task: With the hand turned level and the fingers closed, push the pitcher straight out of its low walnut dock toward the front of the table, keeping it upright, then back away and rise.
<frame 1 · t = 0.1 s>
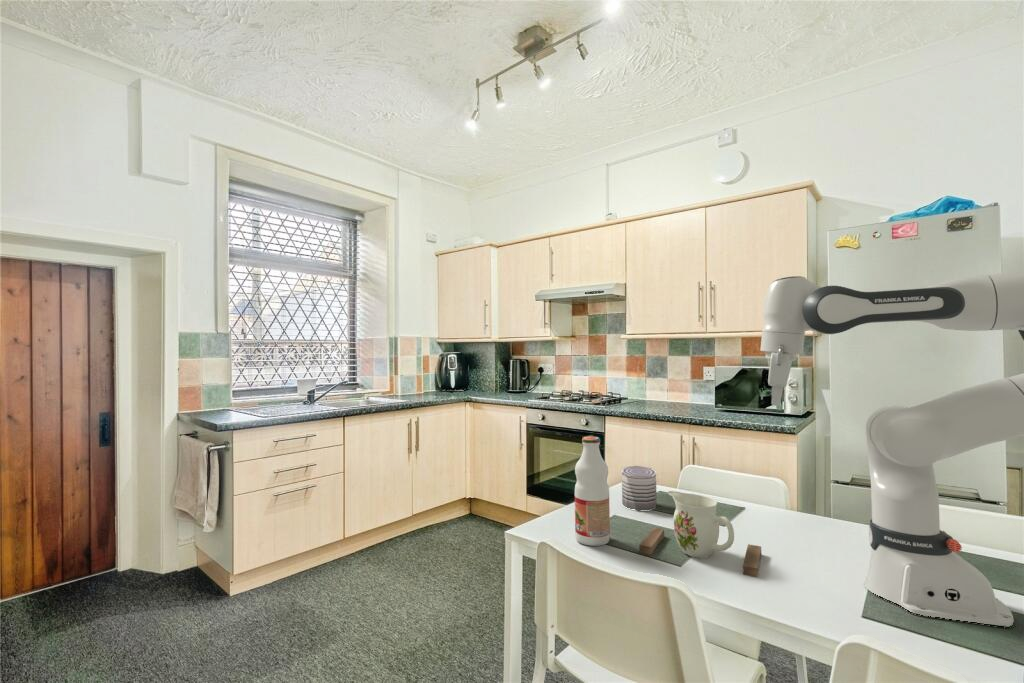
hand: (776, 403, 112), 39 cm above the table, tool pointing down, fingers open, 8 cm apart
pitcher: (699, 554, 120), on the table
fruit juice: (592, 540, 130), on the table
walnut dock: (699, 553, 120), on the table
can: (639, 506, 159), on the table
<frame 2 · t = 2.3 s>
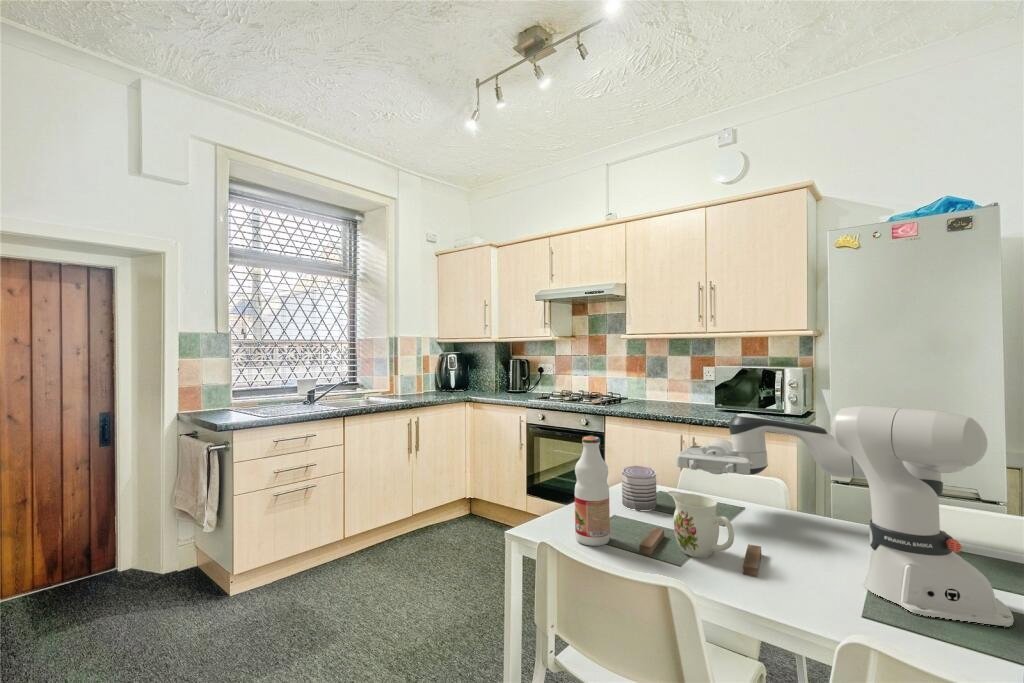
hand: (708, 468, 135), 18 cm above the table, tool horizontal, fingers open, 7 cm apart
nothing on the table moved.
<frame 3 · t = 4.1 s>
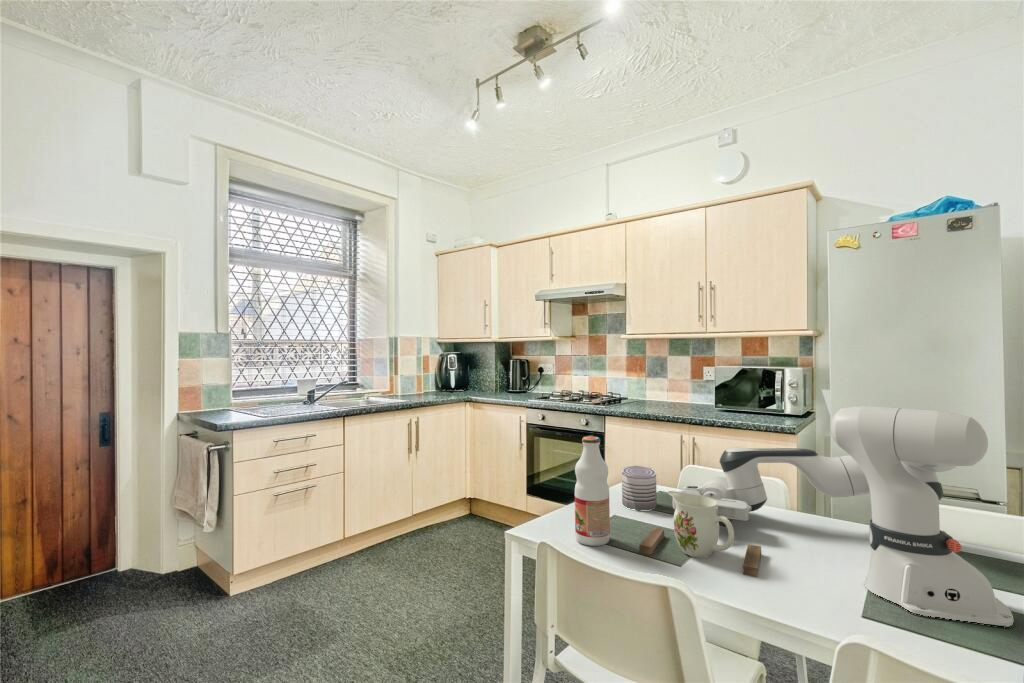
hand: (705, 514, 130), 7 cm above the table, tool horizontal, fingers closed
nothing on the table moved.
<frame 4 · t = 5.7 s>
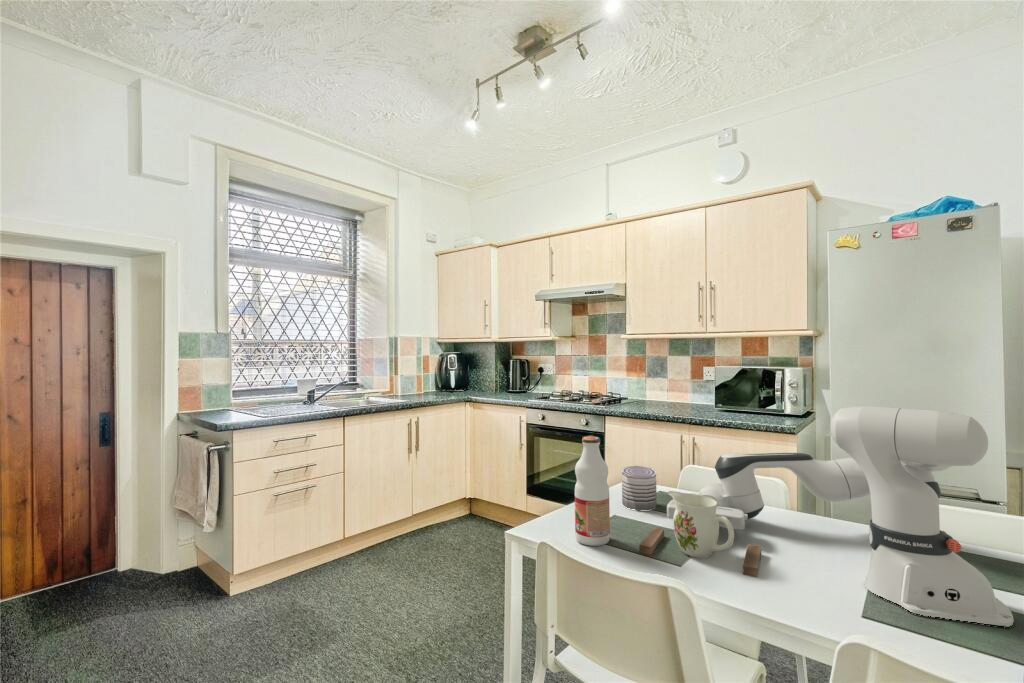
hand: (700, 523, 126), 6 cm above the table, tool horizontal, fingers closed, pressing on pitcher
pitcher: (699, 554, 120), on the table, touching gripper
everything else where it was.
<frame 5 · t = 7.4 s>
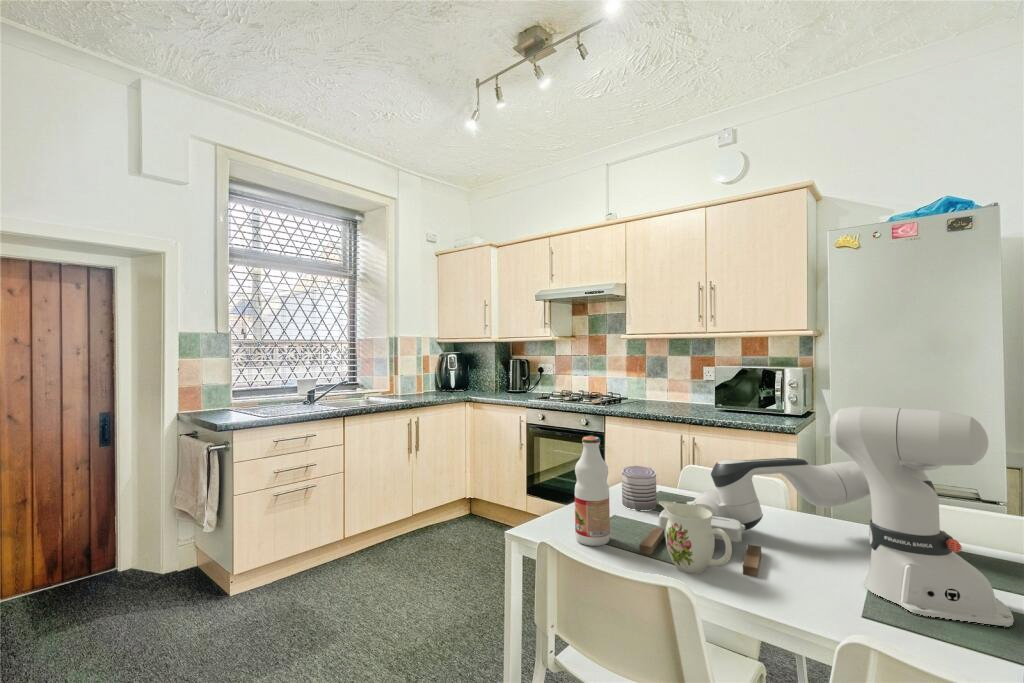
hand: (694, 535, 118), 6 cm above the table, tool horizontal, fingers closed, pressing on pitcher
pitcher: (694, 569, 112), on the table, touching gripper
everything else where it was.
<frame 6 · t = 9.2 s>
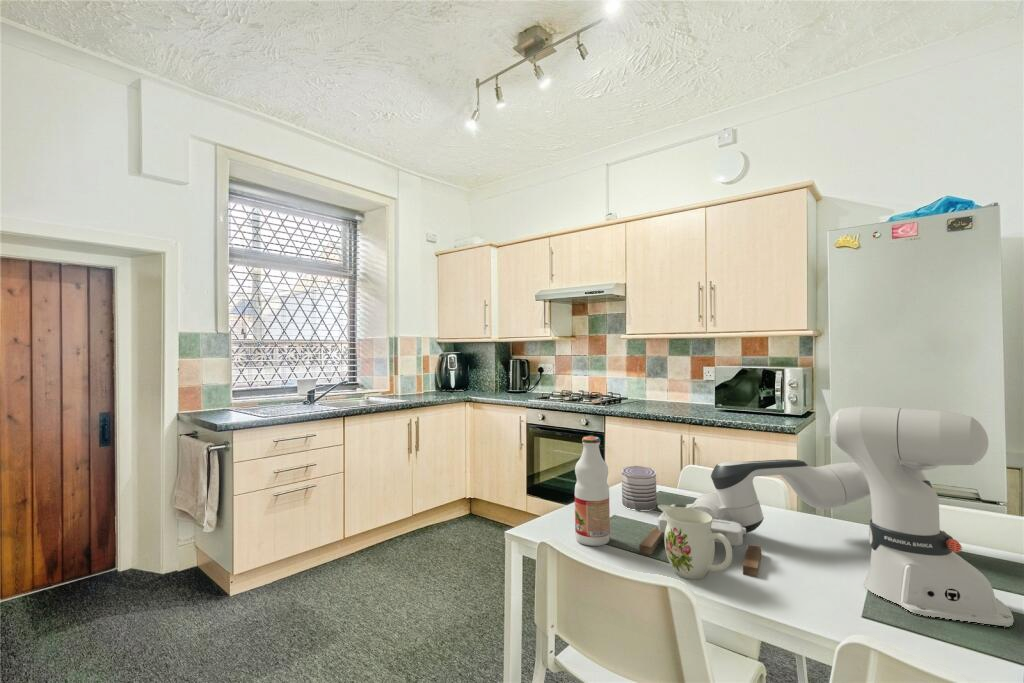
hand: (694, 538, 115), 6 cm above the table, tool horizontal, fingers closed
pitcher: (693, 574, 110), on the table
everything else where it was.
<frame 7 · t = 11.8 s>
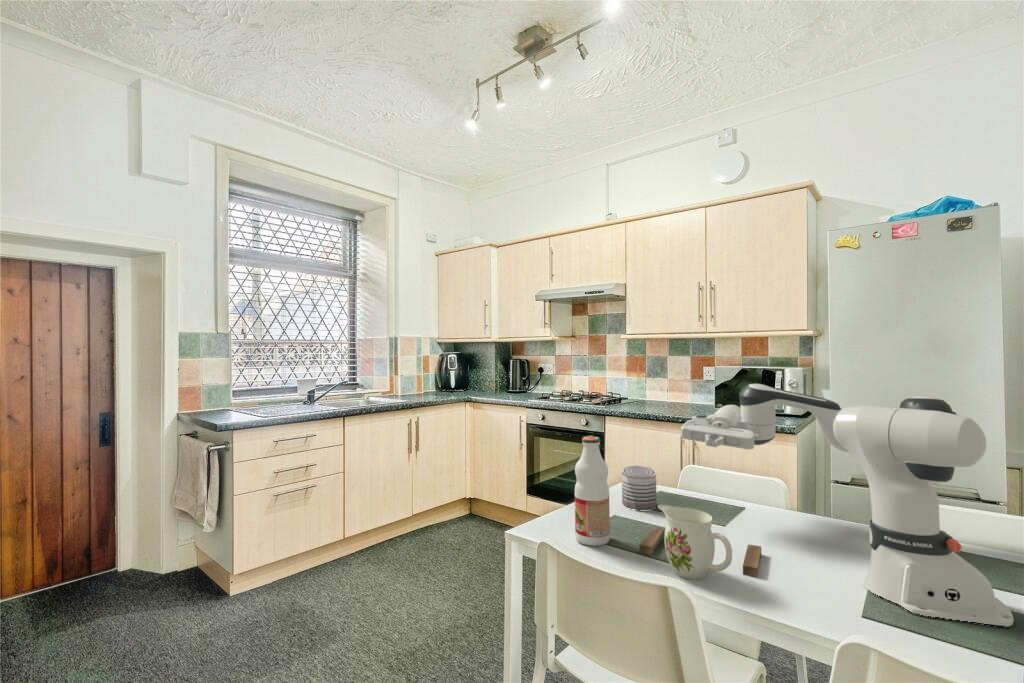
hand: (711, 444, 135), 25 cm above the table, tool horizontal, fingers closed
nothing on the table moved.
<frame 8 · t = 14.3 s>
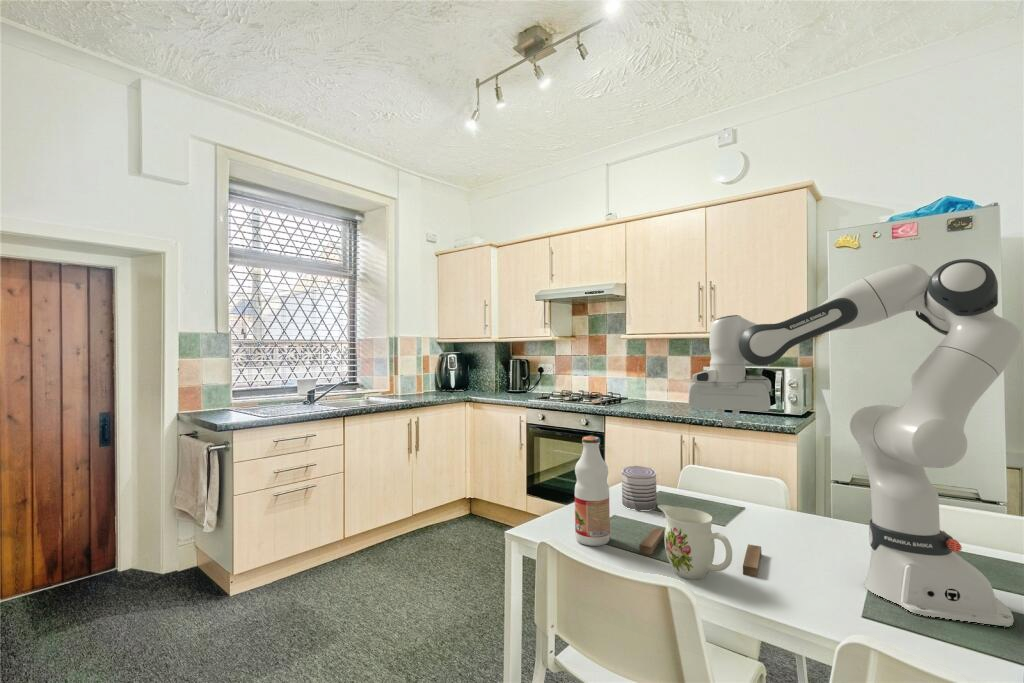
hand: (728, 426, 128), 31 cm above the table, tool pointing down, fingers closed
nothing on the table moved.
at the end: pitcher inside the target area (0.7 cm from its centre), on the table; pitcher tilted 0° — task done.
